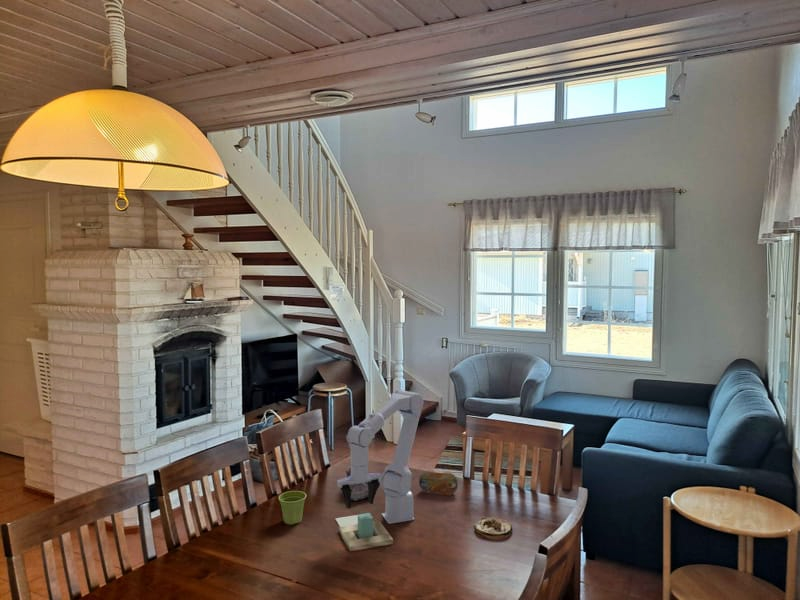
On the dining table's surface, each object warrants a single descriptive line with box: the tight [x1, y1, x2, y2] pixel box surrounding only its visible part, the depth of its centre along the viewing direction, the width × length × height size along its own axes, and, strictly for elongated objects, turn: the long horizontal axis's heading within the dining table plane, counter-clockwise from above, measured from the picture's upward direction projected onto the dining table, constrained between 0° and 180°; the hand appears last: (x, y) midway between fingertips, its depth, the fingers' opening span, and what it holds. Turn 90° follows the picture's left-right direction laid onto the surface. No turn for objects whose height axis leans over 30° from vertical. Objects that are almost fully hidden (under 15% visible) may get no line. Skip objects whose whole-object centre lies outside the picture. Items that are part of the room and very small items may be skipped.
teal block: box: [357, 512, 374, 539], centre depth 180 cm, size 4×4×7 cm
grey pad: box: [335, 514, 359, 528], centre depth 190 cm, size 8×8×1 cm
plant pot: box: [278, 490, 307, 525], centre depth 191 cm, size 9×9×9 cm
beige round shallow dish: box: [473, 517, 513, 540], centre depth 184 cm, size 15×15×4 cm
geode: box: [345, 467, 377, 502], centre depth 217 cm, size 20×12×10 cm, turn 15°
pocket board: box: [338, 520, 394, 552], centre depth 180 cm, size 14×14×1 cm
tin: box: [418, 470, 459, 496], centre depth 216 cm, size 15×3×8 cm, turn 73°
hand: (359, 505), depth 180 cm, fingers open, 7 cm apart
